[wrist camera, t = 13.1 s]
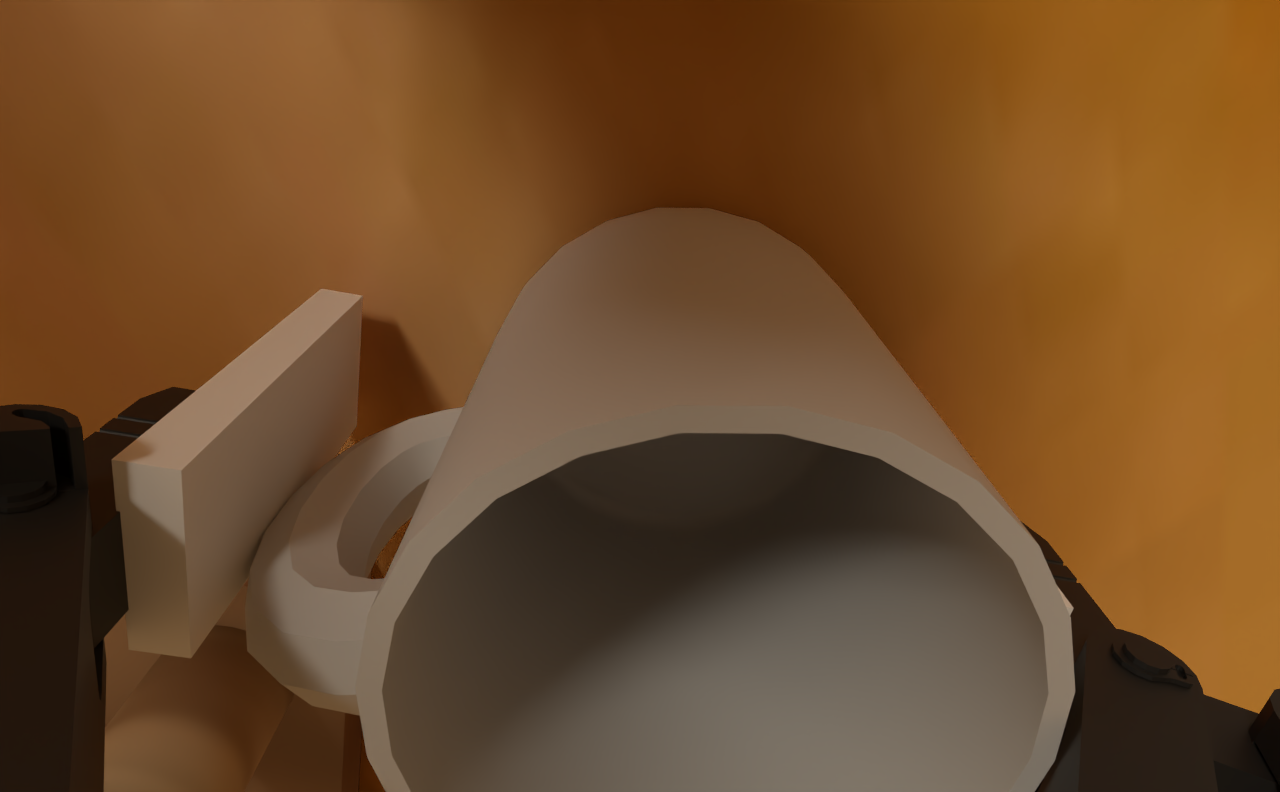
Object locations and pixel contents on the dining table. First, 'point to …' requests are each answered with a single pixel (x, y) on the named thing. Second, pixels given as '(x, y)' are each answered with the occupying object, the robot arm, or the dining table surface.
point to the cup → (673, 551)
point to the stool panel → (293, 741)
